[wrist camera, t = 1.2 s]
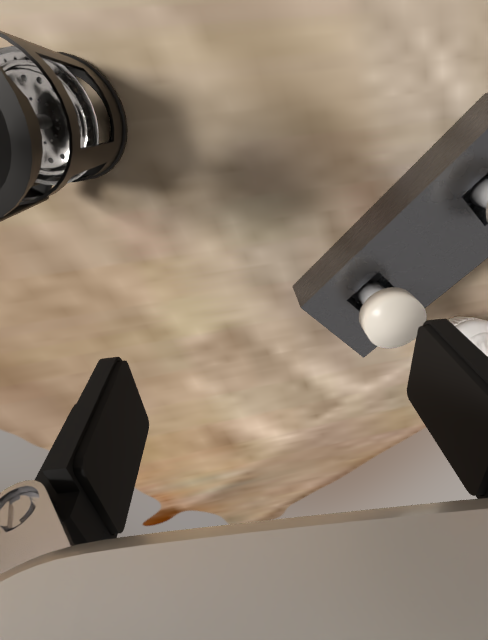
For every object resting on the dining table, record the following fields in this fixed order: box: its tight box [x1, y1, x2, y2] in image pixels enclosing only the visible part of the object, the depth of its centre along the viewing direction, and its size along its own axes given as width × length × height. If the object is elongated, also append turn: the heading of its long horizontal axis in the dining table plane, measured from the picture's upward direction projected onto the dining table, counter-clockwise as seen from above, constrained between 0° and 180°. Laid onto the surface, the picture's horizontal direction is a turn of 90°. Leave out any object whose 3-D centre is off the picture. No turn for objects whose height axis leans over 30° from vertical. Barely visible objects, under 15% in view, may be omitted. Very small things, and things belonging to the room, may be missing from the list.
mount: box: [293, 93, 488, 357], centre depth 34 cm, size 24×10×5 cm, turn 139°
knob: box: [358, 281, 427, 348], centre depth 32 cm, size 5×5×6 cm
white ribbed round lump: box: [448, 316, 488, 357], centre depth 39 cm, size 6×6×7 cm
